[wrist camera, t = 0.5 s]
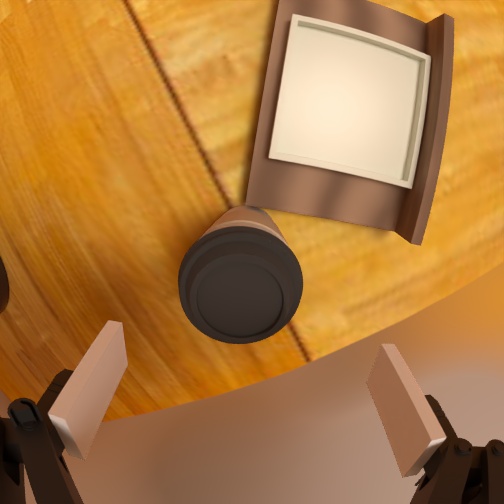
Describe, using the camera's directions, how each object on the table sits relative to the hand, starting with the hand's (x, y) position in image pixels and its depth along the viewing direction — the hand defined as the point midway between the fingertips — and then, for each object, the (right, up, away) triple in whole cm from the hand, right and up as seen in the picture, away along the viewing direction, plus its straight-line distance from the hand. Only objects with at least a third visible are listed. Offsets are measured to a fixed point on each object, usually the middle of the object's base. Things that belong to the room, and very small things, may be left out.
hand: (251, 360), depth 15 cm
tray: (+10, +20, +12) cm, 25 cm away
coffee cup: (-1, +7, +20) cm, 21 cm away
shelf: (+10, +21, +15) cm, 27 cm away
